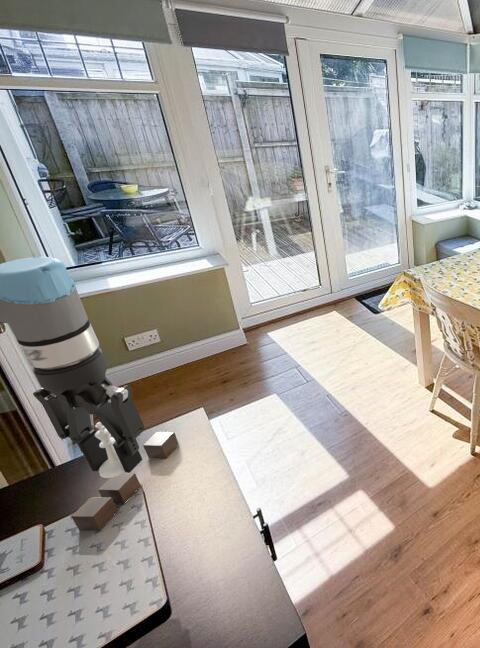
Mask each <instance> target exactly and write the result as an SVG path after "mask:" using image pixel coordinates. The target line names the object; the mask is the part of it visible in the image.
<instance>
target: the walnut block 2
mask: <svg viewBox="0 0 480 648" xmlns="http://www.w3.org/2000/svg"><path fill="white" fill-rule="evenodd" d="M138 488H139V489H141V488H142V485H141V483H140V481H139V479H138V477H137V474H136V472H130V473H123V474H121V475H118V476H115V477H112V478H107V480H106V481H105V482H104V483H103V484H102V485H101V486H100V487H99V488H98V489H97V491H98V493H99V495H100V497H111V498H112V499H113V501H114V503H115V505H121V504H120V503H125V502H126V501H127V500H128V499H129V498H130V497H131V498H132V497H134V495H135V494H136V493H137V492H138V490H139V489H138ZM136 490H137V491H136ZM135 491H136V492H135ZM131 498H130V499H131ZM130 499H129V500H130ZM129 500H128V501H129ZM128 501H127V502H126V503H125V504H124V505H126V504H127V503H128Z"/></svg>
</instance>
